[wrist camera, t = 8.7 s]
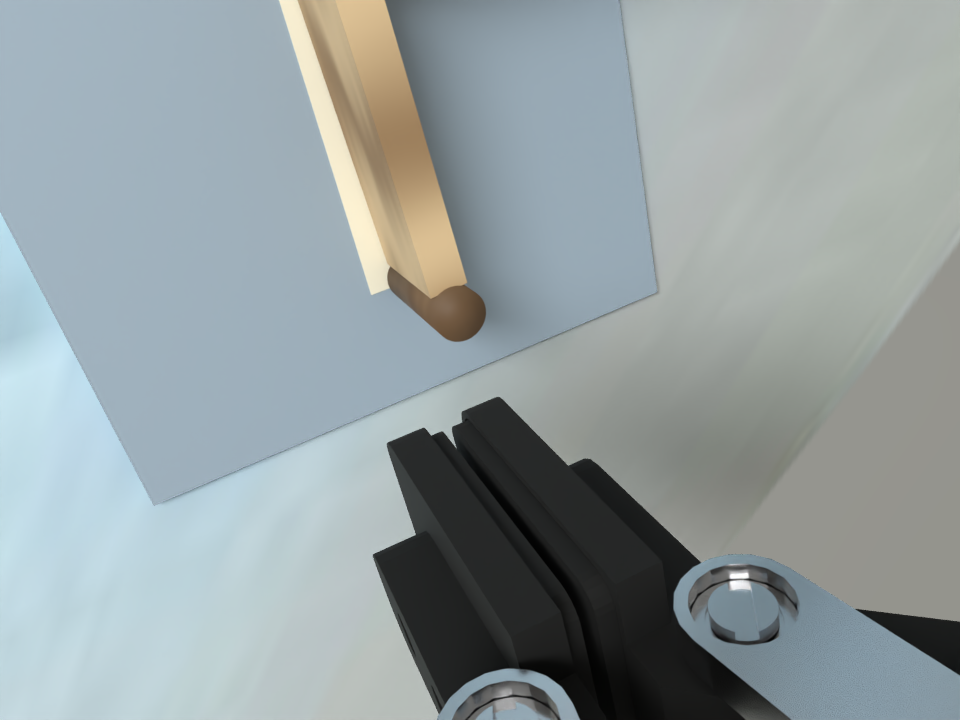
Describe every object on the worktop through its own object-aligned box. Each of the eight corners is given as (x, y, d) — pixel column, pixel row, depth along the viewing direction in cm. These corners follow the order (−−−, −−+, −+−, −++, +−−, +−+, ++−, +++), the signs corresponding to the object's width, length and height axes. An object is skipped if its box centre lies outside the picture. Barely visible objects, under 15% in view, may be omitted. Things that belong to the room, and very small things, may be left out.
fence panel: (280, -26, 22) (319, -36, 19) (334, -43, 23) (382, -55, 19) (395, 306, 27) (444, 350, 24) (437, 287, 28) (491, 328, 24)
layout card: (581, -344, 23) (587, -349, 23) (661, 286, 32) (666, 288, 32) (-222, -218, 18) (-227, -222, 17) (152, 501, 27) (153, 506, 27)
